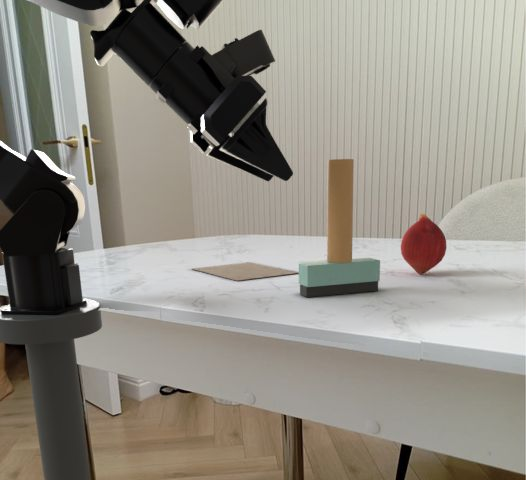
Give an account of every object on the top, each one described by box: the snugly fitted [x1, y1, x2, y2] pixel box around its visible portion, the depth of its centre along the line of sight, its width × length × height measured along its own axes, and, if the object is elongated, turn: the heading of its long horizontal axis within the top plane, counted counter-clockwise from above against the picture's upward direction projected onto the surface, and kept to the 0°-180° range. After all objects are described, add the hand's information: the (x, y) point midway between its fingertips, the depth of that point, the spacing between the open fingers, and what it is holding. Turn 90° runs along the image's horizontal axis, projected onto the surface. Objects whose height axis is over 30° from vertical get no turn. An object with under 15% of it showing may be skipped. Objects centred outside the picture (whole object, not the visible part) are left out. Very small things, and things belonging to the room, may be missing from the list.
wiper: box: [298, 158, 381, 298], centre depth 66 cm, size 9×3×15 cm, turn 109°
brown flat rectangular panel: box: [191, 262, 299, 282], centre depth 86 cm, size 14×10×1 cm
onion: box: [400, 212, 447, 275], centre depth 78 cm, size 6×6×8 cm
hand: (280, 178), depth 63 cm, fingers open, 9 cm apart
